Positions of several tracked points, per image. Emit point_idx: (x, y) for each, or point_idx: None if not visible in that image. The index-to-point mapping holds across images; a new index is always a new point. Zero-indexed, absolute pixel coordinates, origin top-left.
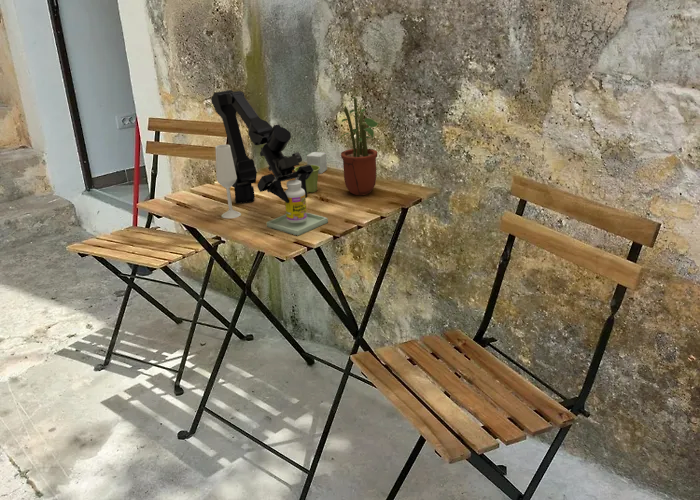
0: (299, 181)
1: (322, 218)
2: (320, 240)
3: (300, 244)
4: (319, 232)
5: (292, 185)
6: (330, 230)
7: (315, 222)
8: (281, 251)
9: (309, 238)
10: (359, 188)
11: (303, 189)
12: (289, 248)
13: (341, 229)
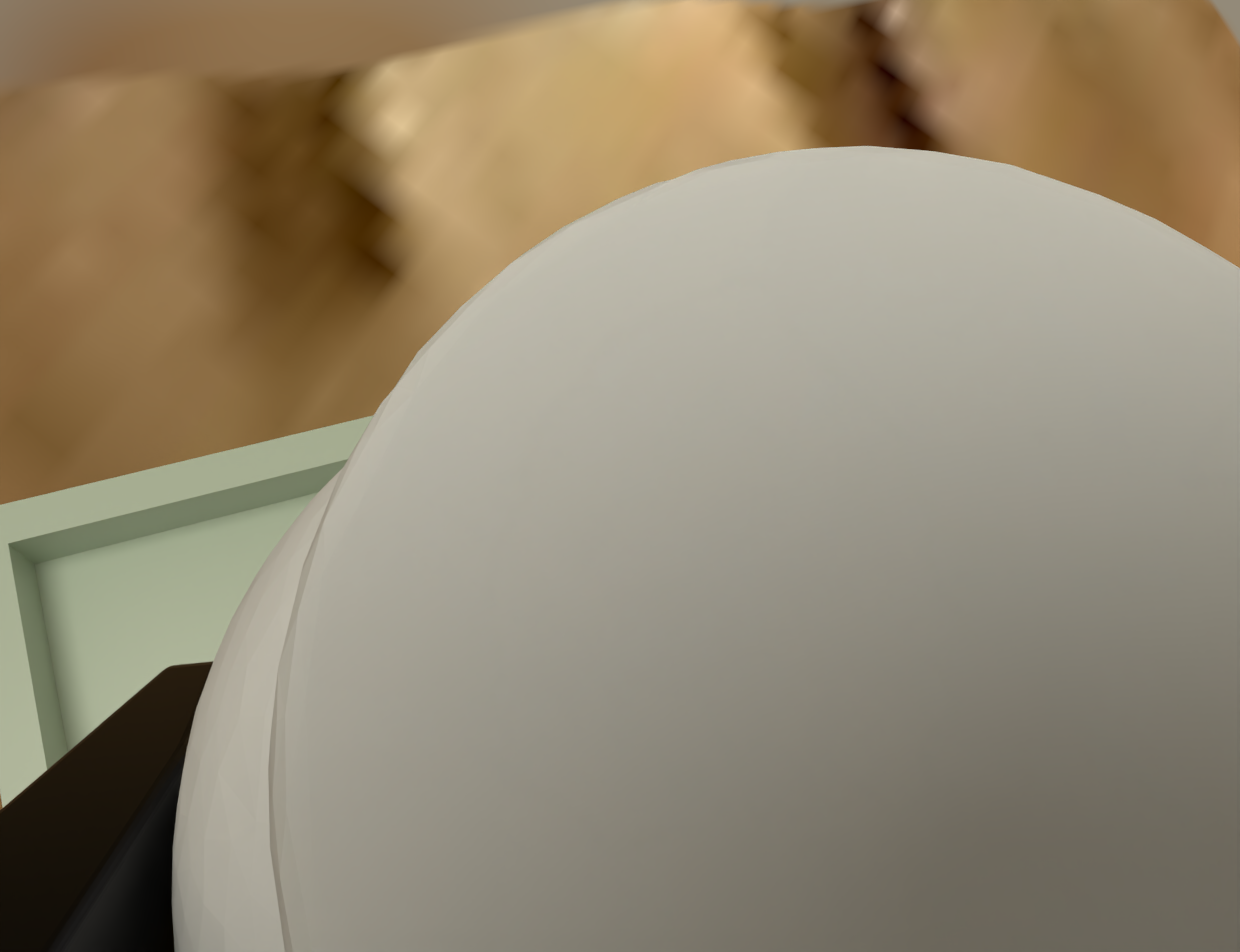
0: (471, 543)
1: (31, 622)
2: (591, 9)
3: (894, 77)
4: (431, 252)
5: (1224, 294)
6: (229, 205)
7: (333, 452)
8: (1189, 60)
9: (689, 161)
10: None
11: (284, 604)
12: (1070, 68)
13: (53, 124)
